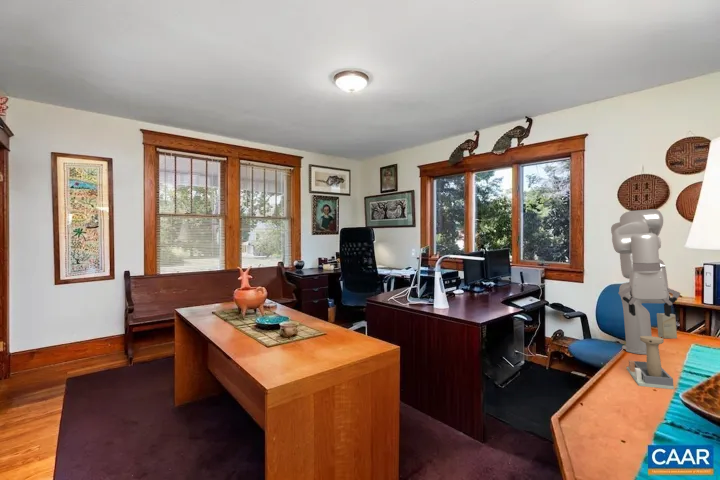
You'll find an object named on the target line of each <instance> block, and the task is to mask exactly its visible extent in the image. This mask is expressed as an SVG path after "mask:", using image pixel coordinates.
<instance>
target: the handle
mask: <svg viewBox="0 0 720 480" xmlns="http://www.w3.org/2000/svg"><path fill="white" fill-rule="evenodd" d="M664 339H665V338H661V337H659V336H653V335H652V336H640V340H641V341H642V342H644V343H646V350H647V354H646V362H647V370H648V374H649V376H654V377H660V376H661V372H662V369H661V367H662V362H661V361H662V360H661V354H660V349H659V345H662V344H664Z"/></svg>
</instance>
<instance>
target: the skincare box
mask: <svg viewBox="0 0 720 480" xmlns="http://www.w3.org/2000/svg"><path fill="white" fill-rule="evenodd" d="M676 318H677V317H676V314H674V313H672V314H670V317H668V316H666V315H665V313H664V312H662V313H661V312H660V313H659V312H657V313H656V321H657V337H659V338H661V337H662V338H663V339H678V335H677V334H678V332H677V331H678V330H677V320H676Z"/></svg>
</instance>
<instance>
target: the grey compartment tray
mask: <svg viewBox="0 0 720 480" xmlns="http://www.w3.org/2000/svg"><path fill="white" fill-rule="evenodd" d="M661 369H662V372H661V376H660V377H654V376H649V374H648V370H647V361H636V360H630V359H629V360H628V366H626V370H627V372H628V373H629V374H630V376H631V377H632V378H633V380H634V382H635V383H636V384H637V386H638V387H647V388H654V389H655V388H657V389H666V390H675V387H674V379H673V377H672V376H671V375H670V374H669V373H668V372H667V371H666V370H665V369H664V368H663V367H662V366H661Z"/></svg>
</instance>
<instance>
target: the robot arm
mask: <svg viewBox="0 0 720 480" xmlns="http://www.w3.org/2000/svg"><path fill="white" fill-rule="evenodd" d="M663 226H664V216H663V214H662V212H661V211H659V210H658V209H655V208H650V209H640V210H639V209H638V210H630V211H626V212H623V213H622V214H621V216H620V217H619V221H618V222H616V223H613V224H612V225H611V228H610V233H611V242H612V247H613V250H614V251H615V253H618V254H619V262H620V269H621V270H620V271H621V274H622V276H623V278H625V279H627V280H629V282H623V283H622V284H620V286H619V291H618V295H619V297H620V299H621V303H622V309H623V321H624V323H623V324H624V333H625V335H624V336H625V344H624V345H622V347H621V348H622V350H623V349H626V351H625V352H627V353H631V354H635V355H637V354H638V355H647V350H646V343H644V342H642V341H641V340H640V336H652V337H653V335H652V326H651V325H652V324H651V323H652V322H651V315H650V312H649V310H648V309H647V308H646V307H645V306H644V305H642V304H663V311H664V312H663V313H665V315H666V316H668V317H670V314H673V311H672V305H673V304H674V303H675V302H677V300H678V298H680V295H681V292H679V291H677V290H674V289H672V288H669V282H668V275H667V267H666V264H665V263H664V260H662V259H660V254H659V250H660V248H661V247H662V241H661V238H660V233H661V231H662V229H663ZM670 293H671V297H670Z"/></svg>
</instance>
